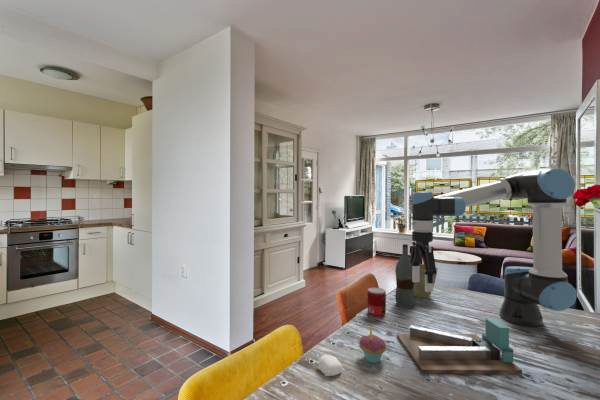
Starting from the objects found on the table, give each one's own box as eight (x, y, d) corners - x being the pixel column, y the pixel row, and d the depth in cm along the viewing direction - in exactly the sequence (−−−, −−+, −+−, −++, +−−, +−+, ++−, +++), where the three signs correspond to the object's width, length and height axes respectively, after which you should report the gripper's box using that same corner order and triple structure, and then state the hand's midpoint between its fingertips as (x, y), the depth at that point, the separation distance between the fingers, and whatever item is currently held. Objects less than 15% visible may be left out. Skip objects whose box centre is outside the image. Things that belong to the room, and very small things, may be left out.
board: (475, 337, 110) (475, 334, 110) (522, 374, 87) (522, 370, 87) (396, 336, 110) (396, 333, 110) (422, 373, 87) (422, 369, 87)
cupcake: (381, 369, 89) (381, 330, 89) (355, 360, 93) (355, 324, 93) (388, 356, 96) (388, 320, 96) (364, 349, 101) (364, 315, 101)
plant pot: (410, 300, 149) (410, 269, 149) (405, 291, 164) (405, 263, 164) (441, 301, 147) (441, 270, 147) (432, 292, 162) (432, 264, 162)
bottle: (392, 301, 147) (393, 243, 147) (410, 301, 147) (411, 243, 147) (398, 308, 138) (398, 246, 138) (417, 308, 138) (418, 246, 138)
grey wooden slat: (471, 346, 100) (471, 337, 100) (471, 349, 98) (471, 340, 98) (410, 332, 110) (411, 325, 110) (409, 335, 108) (409, 327, 108)
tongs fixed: (485, 348, 99) (485, 338, 99) (499, 360, 92) (500, 350, 92) (412, 347, 99) (412, 338, 99) (421, 359, 92) (421, 349, 92)
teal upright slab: (490, 344, 101) (490, 316, 101) (513, 362, 90) (513, 330, 90) (482, 344, 101) (482, 316, 101) (503, 362, 90) (503, 330, 90)
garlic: (313, 365, 91) (313, 353, 91) (332, 361, 94) (332, 349, 94) (326, 380, 84) (326, 367, 84) (345, 374, 86) (345, 362, 86)
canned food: (386, 318, 127) (386, 293, 127) (367, 316, 129) (367, 292, 129) (384, 311, 135) (385, 287, 135) (367, 310, 136) (367, 286, 136)
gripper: (402, 227, 125) (401, 278, 125) (425, 234, 101) (425, 296, 101) (419, 228, 125) (419, 278, 125) (447, 234, 101) (446, 296, 101)
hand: (422, 286), depth 113 cm, fingers open, 11 cm apart
